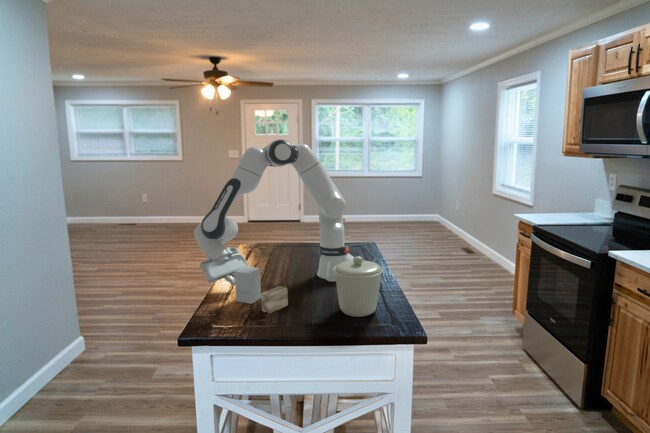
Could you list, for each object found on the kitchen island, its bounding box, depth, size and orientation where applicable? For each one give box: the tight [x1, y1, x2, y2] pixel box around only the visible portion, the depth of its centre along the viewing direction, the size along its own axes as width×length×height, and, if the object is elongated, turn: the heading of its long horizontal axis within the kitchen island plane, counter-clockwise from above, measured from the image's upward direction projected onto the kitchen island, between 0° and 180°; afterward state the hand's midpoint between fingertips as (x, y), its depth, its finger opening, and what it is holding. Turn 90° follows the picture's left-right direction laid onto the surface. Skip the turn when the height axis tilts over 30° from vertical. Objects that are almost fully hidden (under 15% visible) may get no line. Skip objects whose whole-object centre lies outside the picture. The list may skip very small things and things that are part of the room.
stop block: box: [260, 285, 289, 314], centre depth 161 cm, size 4×10×7 cm, turn 143°
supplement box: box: [234, 266, 262, 305], centre depth 169 cm, size 7×7×13 cm
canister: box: [333, 255, 384, 318], centre depth 156 cm, size 18×18×21 cm
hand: (235, 283), depth 174 cm, fingers closed
